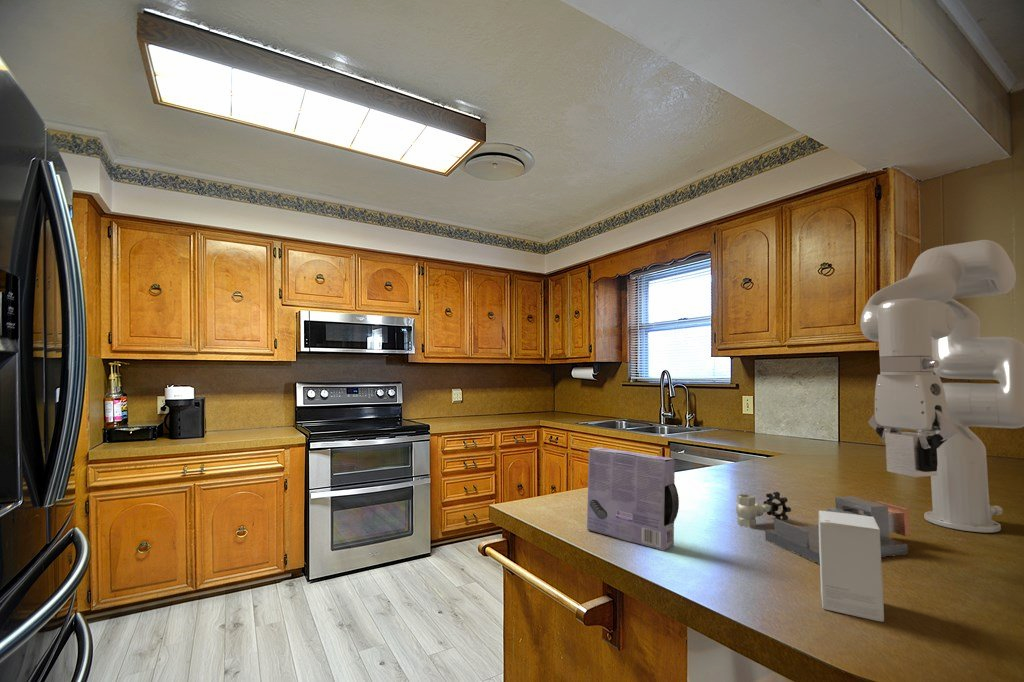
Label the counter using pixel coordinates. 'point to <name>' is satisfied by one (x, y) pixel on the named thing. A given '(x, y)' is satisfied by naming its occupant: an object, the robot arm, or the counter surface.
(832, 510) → the ram
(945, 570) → the counter surface
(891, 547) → the press bed
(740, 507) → the valve
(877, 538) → the supplement box
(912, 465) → the block
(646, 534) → the cake pan box
